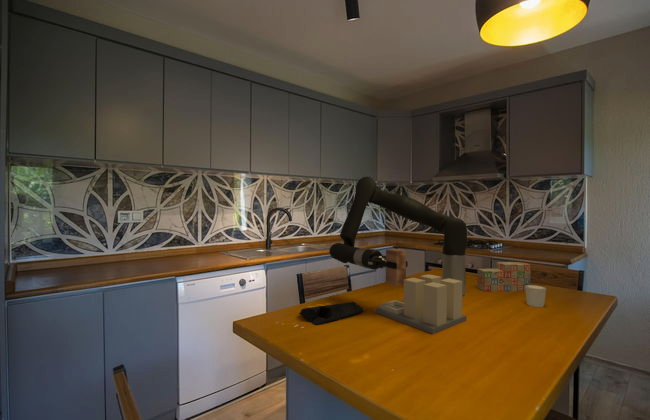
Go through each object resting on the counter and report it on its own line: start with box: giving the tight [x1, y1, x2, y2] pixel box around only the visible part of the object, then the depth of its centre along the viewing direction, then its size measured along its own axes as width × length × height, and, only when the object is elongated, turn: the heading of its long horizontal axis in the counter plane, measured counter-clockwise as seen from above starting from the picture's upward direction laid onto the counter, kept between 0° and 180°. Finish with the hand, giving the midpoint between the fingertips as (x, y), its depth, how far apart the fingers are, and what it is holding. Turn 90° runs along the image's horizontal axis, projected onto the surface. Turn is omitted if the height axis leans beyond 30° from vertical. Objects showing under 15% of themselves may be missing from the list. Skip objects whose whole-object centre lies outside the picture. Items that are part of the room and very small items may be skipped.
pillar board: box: [374, 274, 467, 335], centre depth 112 cm, size 19×24×14 cm
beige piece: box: [525, 284, 547, 308], centre depth 125 cm, size 7×7×7 cm
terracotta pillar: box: [385, 248, 407, 287], centre depth 115 cm, size 5×5×12 cm
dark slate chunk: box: [298, 301, 364, 326], centre depth 115 cm, size 15×22×5 cm
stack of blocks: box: [476, 261, 532, 293], centre depth 147 cm, size 21×6×12 cm, turn 92°
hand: (401, 265), depth 113 cm, fingers closed on terracotta pillar, 5 cm apart
